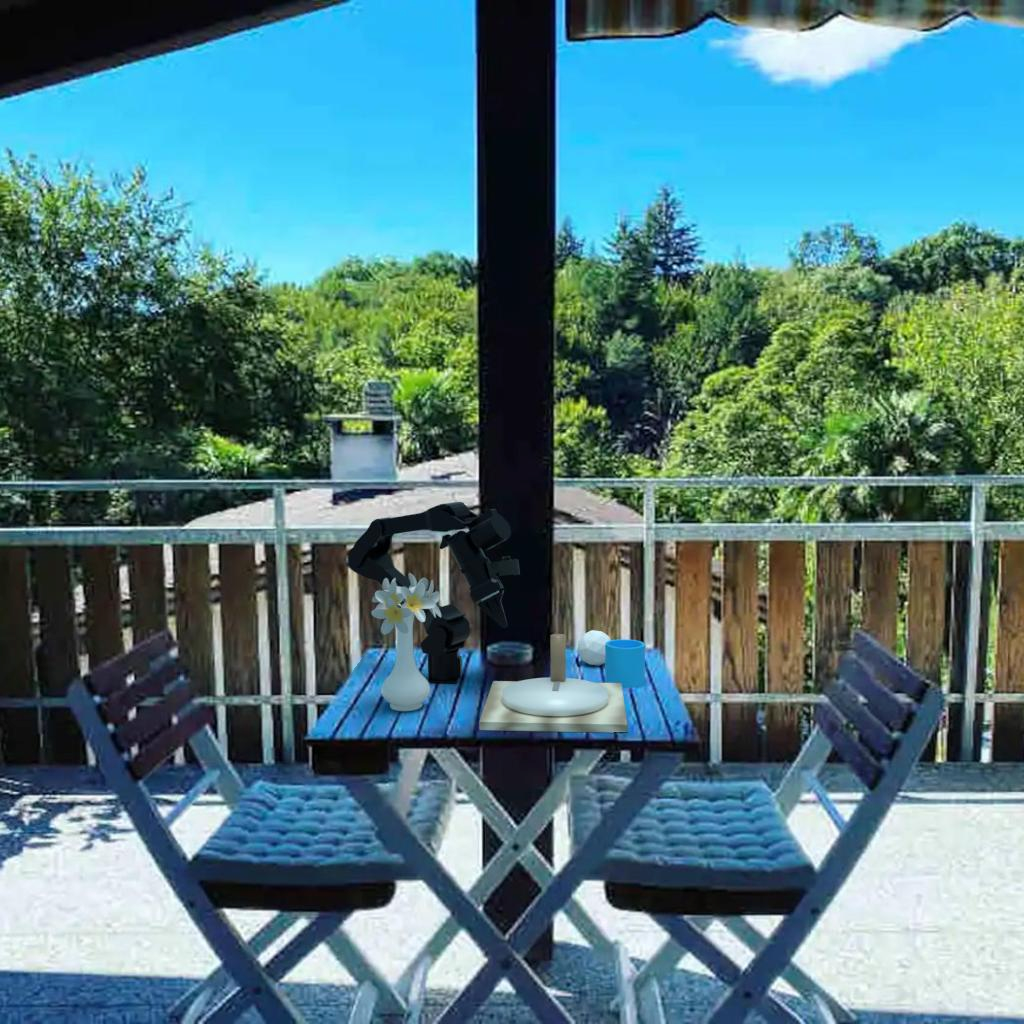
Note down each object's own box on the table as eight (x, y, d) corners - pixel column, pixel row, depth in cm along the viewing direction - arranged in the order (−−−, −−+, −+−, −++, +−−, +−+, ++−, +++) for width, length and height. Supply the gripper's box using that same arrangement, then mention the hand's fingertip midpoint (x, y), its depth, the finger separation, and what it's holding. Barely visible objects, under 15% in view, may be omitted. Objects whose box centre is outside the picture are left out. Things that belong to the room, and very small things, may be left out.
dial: (606, 717, 172) (607, 660, 171) (495, 714, 175) (495, 657, 174) (609, 686, 192) (609, 634, 191) (509, 683, 195) (508, 632, 193)
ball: (603, 677, 215) (615, 654, 210) (569, 664, 215) (581, 641, 210) (609, 654, 221) (620, 630, 216) (576, 641, 221) (587, 618, 216)
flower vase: (368, 724, 175) (365, 587, 173) (378, 694, 194) (376, 570, 191) (440, 722, 176) (438, 587, 173) (443, 693, 194) (442, 570, 191)
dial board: (479, 730, 172) (479, 720, 172) (493, 688, 197) (493, 679, 197) (627, 732, 170) (627, 723, 170) (621, 690, 196) (621, 681, 195)
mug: (645, 688, 197) (645, 649, 196) (605, 687, 198) (605, 648, 197) (643, 672, 209) (643, 635, 208) (605, 671, 210) (605, 634, 209)
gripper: (505, 539, 189) (541, 610, 188) (506, 542, 208) (540, 608, 207) (454, 565, 189) (490, 637, 188) (460, 566, 207) (493, 631, 206)
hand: (505, 627), depth 197 cm, fingers closed
